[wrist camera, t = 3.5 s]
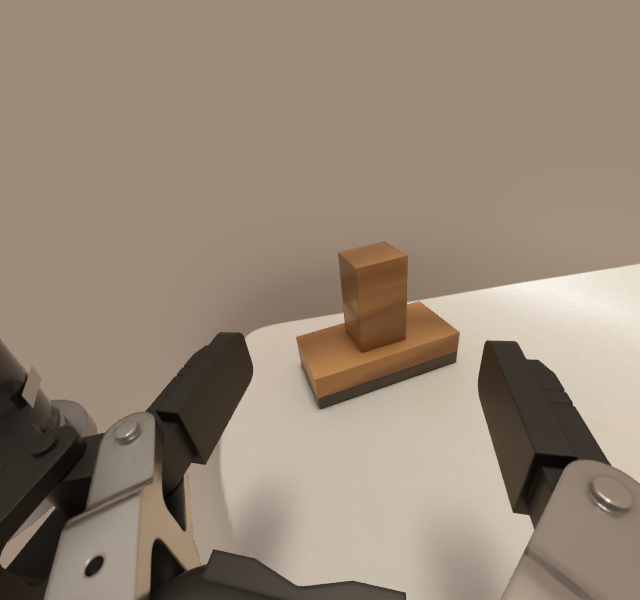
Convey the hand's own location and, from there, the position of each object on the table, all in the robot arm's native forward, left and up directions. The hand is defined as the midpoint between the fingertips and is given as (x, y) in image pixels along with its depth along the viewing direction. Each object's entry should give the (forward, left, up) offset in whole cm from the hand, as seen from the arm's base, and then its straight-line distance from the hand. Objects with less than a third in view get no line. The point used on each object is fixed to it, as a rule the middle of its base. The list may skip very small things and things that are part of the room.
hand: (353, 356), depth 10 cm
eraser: (+5, +9, -10) cm, 15 cm away
